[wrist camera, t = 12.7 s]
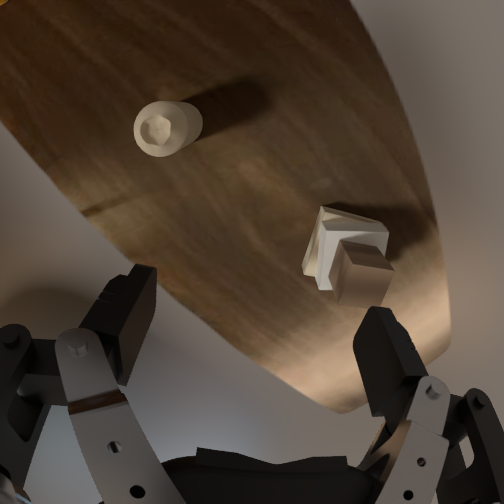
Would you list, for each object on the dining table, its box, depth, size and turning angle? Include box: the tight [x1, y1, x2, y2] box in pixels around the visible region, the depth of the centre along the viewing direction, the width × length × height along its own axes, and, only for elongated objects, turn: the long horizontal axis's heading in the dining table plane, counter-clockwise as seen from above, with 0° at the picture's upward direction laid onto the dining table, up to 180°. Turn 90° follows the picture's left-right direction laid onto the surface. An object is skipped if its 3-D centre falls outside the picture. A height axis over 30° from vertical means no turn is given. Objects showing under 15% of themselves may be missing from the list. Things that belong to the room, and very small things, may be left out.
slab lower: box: [302, 206, 387, 277], centre depth 40 cm, size 9×9×3 cm
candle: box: [134, 101, 203, 157], centre depth 29 cm, size 6×6×10 cm
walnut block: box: [328, 240, 395, 309], centre depth 33 cm, size 5×5×6 cm
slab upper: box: [315, 221, 389, 290], centre depth 37 cm, size 8×8×3 cm
